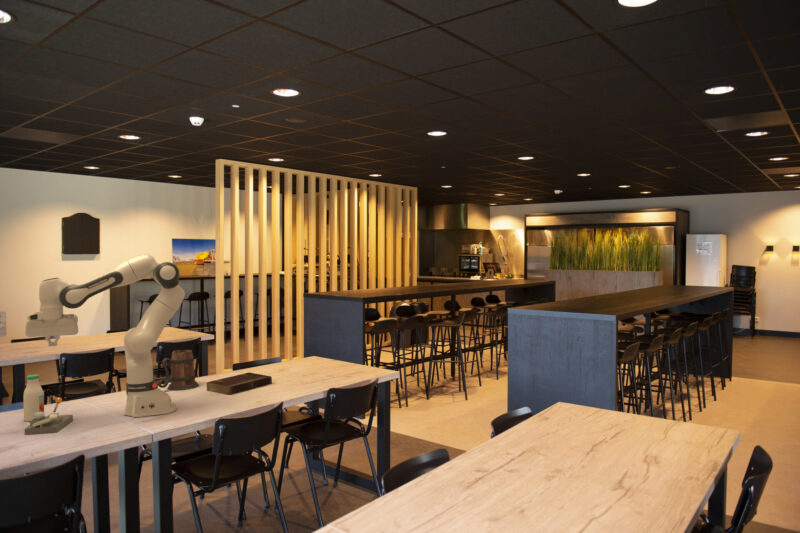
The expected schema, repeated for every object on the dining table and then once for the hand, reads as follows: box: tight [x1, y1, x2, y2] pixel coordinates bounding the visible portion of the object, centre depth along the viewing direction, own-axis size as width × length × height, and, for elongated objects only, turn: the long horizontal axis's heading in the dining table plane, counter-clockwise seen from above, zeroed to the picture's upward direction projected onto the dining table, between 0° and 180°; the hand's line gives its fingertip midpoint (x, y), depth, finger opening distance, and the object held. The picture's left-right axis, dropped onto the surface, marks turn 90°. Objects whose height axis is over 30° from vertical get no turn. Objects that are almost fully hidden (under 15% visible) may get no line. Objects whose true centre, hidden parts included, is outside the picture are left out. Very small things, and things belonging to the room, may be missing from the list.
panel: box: [24, 412, 74, 436], centre depth 242 cm, size 12×18×4 cm, turn 11°
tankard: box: [157, 349, 200, 392], centre depth 310 cm, size 24×17×20 cm
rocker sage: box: [32, 418, 52, 427], centre depth 235 cm, size 6×3×1 cm, turn 101°
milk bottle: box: [22, 373, 45, 422], centre depth 255 cm, size 8×8×20 cm
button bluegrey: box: [35, 411, 45, 420], centre depth 239 cm, size 3×3×2 cm
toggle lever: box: [52, 397, 63, 413], centre depth 246 cm, size 3×3×7 cm
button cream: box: [48, 413, 58, 419], centre depth 240 cm, size 3×3×2 cm
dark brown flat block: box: [206, 372, 273, 396], centre depth 310 cm, size 29×19×5 cm, turn 146°
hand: (52, 346), depth 250 cm, fingers closed
